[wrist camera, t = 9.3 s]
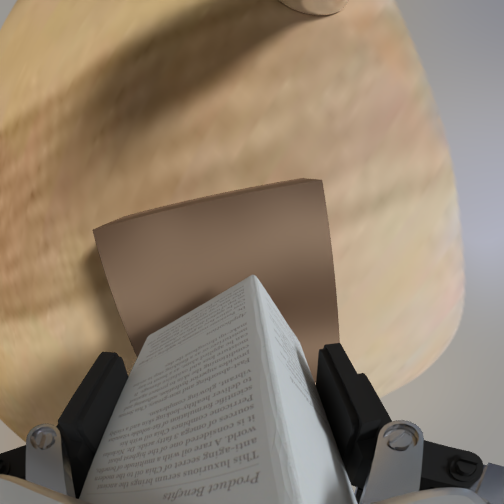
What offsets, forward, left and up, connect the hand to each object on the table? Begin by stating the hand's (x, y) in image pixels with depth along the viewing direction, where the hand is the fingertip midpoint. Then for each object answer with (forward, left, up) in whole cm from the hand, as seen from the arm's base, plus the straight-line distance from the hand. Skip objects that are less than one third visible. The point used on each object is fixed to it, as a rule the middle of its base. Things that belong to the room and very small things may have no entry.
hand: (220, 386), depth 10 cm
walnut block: (0, 0, -11) cm, 11 cm away
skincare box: (0, 0, -4) cm, 4 cm away
